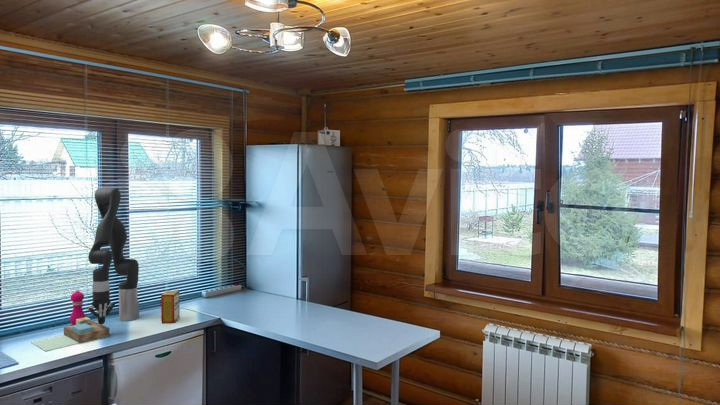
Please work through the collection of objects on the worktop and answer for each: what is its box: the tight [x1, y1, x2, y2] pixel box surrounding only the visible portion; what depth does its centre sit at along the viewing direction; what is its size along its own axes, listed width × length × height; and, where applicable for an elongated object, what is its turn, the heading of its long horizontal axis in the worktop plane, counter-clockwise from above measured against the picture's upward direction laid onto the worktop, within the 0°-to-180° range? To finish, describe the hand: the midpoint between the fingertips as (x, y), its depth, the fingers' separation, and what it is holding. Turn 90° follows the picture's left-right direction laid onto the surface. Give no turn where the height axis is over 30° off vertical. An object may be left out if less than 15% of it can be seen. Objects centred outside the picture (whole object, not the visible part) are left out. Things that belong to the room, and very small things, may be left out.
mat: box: [31, 334, 80, 352], centre depth 230 cm, size 14×18×1 cm
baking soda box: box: [160, 290, 181, 325], centre depth 267 cm, size 10×6×16 cm
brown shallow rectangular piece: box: [63, 320, 111, 344], centre depth 241 cm, size 14×18×4 cm
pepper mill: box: [69, 288, 87, 326], centre depth 254 cm, size 7×7×20 cm
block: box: [76, 316, 92, 325], centre depth 246 cm, size 5×5×3 cm
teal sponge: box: [72, 323, 93, 334], centre depth 237 cm, size 6×9×2 cm, turn 51°
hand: (101, 323), depth 244 cm, fingers closed
